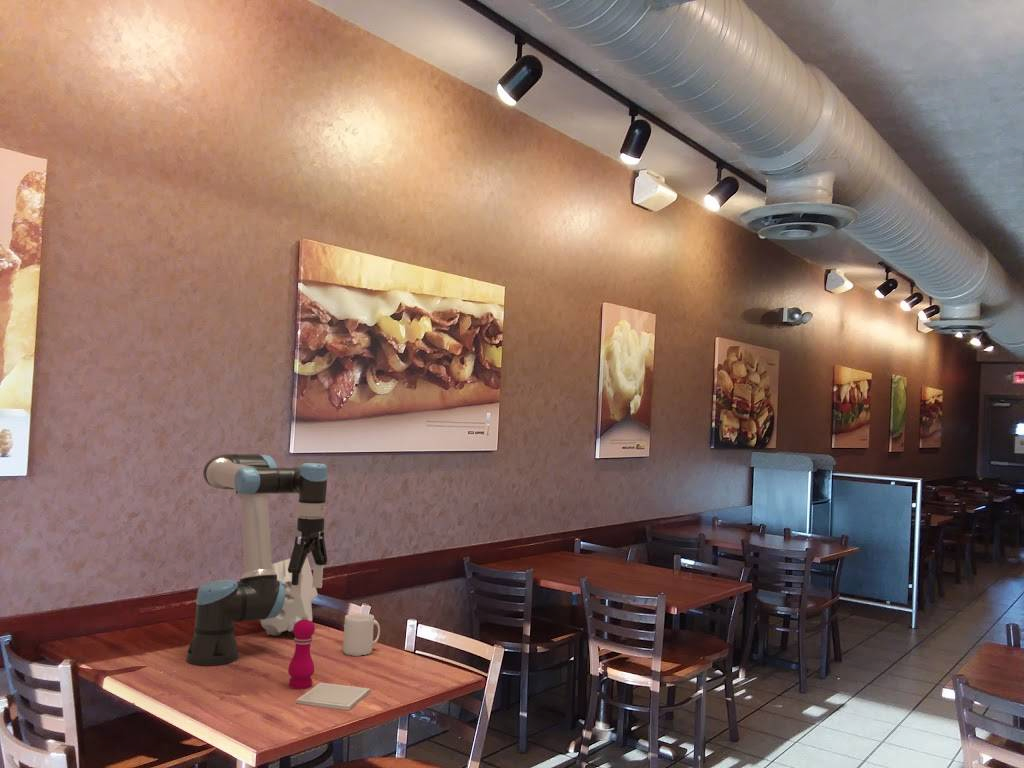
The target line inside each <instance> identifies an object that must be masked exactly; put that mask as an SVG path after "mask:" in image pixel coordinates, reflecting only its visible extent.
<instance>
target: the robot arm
mask: <svg viewBox="0 0 1024 768" xmlns="http://www.w3.org/2000/svg"><path fill="white" fill-rule="evenodd" d="M202 469H203V470H202V475H203V479H204V481H205V482H206V484H207V485H209V487H210V486H211V487H212V488H216V489H221V490H235V496H236V497H237V498H238V499H239V500H240V501H241V502H240V504H241V523H242V524H241V527H242V546H243V549H242V550H243V568H244V569H243V570H244V572H243V574H242V576H241V577H240V578H239V584H238V581H237V580H235V579H231V578H230V579H217V580H212V581H209V582H206V583H204V584H202V585H201V586H200V587H198V590H197V594H196V595H197V596H196V600H195V604H196V607H195V618H194V633H193V637H192V639H191V641H190V644H189V647H188V649H187V652H186V657H185V658H186V661H187V663H190V664H191V665H198V666H220V665H226V664H229V663H233V662H235V661H237V660H238V659H239V651H240V650H239V647H238V642H237V639H236V636H235V625H236V623H242V622H243V623H244V622H251V621H253V622H254V621H260V620H265V619H269V618H274V617H276V616H278V615H279V613H280V612H281V610H282V608H283V605H284V600H285V587H284V584H283V582H282V581H279V580H277V574H276V573H275V572H273V570H272V564H273V563H272V548H271V546H272V545H271V543H272V542H271V529H270V528H271V527H270V511H269V510H270V509H269V507H270V506H269V497H270V496H271V495H273V494H279V495H280V494H299V495H298V505H297V507H298V508H297V516H298V518H297V522H296V523H297V526H296V530H297V531H298V532H301V533H300V534H301V536H295V538H294V545H293V549H292V552H291V556H290V558H291V559H290V558H289V559H290V563H289V567H288V572H289V573H292V580H291V596H292V597H301V584H302V573H300V572H301V570H302V567H303V565H304V562H305V559H306V557H307V558H308V554H310V553H311V554H312V555H311V556H312V557H313V560H314V563H315V564H313V572H312V575H313V585H312V587H315V588H316V589H322V587H323V575H324V566H326V565H327V564H328V556H327V549H326V543H325V542H326V541H325V532H324V531H325V518H324V517H325V514H326V513H325V512H326V509H327V507H326V502H327V501H326V499H327V498H326V497H327V485H328V478H329V477H328V466H327V465H326V464H325V463H315V462H314V463H313V462H306V463H305V462H304V463H303V464H301V466H292V467H278V466H277V463H276V460H274V458H273V457H272V456H271V455H267V454H259V453H255V454H254V453H253V454H252V453H251V454H250V453H249V454H248V453H247V454H246V453H244V454H243V453H242V454H239V453H238V454H237V453H235V454H234V453H224V454H219V455H216V456H214V457H212V458H211V459H209V460H208V461H207V462H206V463H205V465H204V467H203V468H202Z"/></svg>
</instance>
